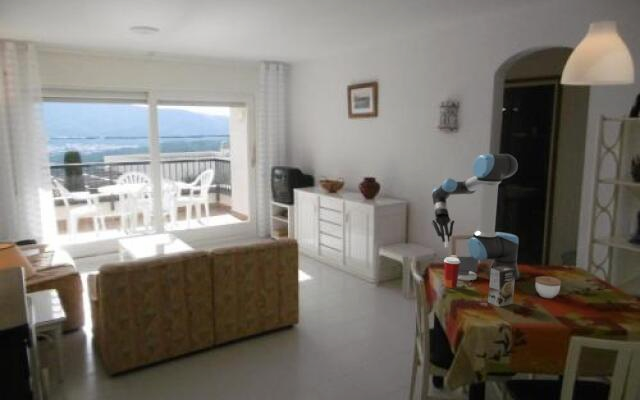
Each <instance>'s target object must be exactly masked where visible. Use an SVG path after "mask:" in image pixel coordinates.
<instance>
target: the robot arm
mask: <svg viewBox="0 0 640 400" xmlns="http://www.w3.org/2000/svg"><path fill="white" fill-rule="evenodd" d="M518 166H519V164H518V161H517V159H516V157H514V156H513V155H511V154H509V153H486V154H479V155H478V156H477V158H475V160H474V162H473V165H472V172H473V174H474V176H472V177H469V178H467V179H465V180H463V181H462V180H461V181H456V180H455V179H453V178H451V177H450V178H446V179H445V180H444V181H443V182H442V183H441V185H440V186H439V187H435V188H434V189H432V190H431V198H432V203H433V208H434V216H435V217H434V218H435V219H433V220H432V221H431V225H432V226H433V227H434V229H435V231H436V232H435V233H436V235H437V236H438V237H441V241H442V243H443V244H444V248H445V249H448V248H449V247H450V245H449V242H450V241H451V240H450V238H451V237H452V235H453V231H454V229H453V228H454V224H455V223H456V221H455V220H451V218H450V216H449V215H450V214H449V209H448V204H447V199H448V198H449V197H450V196H453V195H472V194H475V193H476V191H477V190H478V189H479V193H478V208H477V222H476V230H475V231H474V232H473V234H472V237H471V238H469V239H468V241H467V249H468V251H467V252H468V253H469V254H470V255H469V256H472V257H473V258H474V259H476V260H478V261H487V260H492V262H491V265H490V267H489V269H488V276H489V277H490V274H491V268H495V267H501V266H506V267H510V268H513V269H516V272H515V281H517V280H519V279H520V272H519V271H520V270H519V268H518V252H519V237H518V236H517V235H515V234H512V233H508V232H501V231H495V228H496V217H497V204H498V194H499V193H498V189H499V184H501V183H502V180H505V179H508V178H510V177H512V176H513V175H515V174H516V172H517V171H518ZM448 225H449V227H448Z"/></svg>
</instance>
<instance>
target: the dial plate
mask: <svg viewBox="0 0 640 400" xmlns="http://www.w3.org/2000/svg"><path fill="white" fill-rule="evenodd" d="M477 278H478V274H477V273H476V272H475V271H469V274H468V275H461V274H458V280H457V281H464V282H465V281H466V282H467V281H469V282H471V280H472V281H475V280H477Z"/></svg>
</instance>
